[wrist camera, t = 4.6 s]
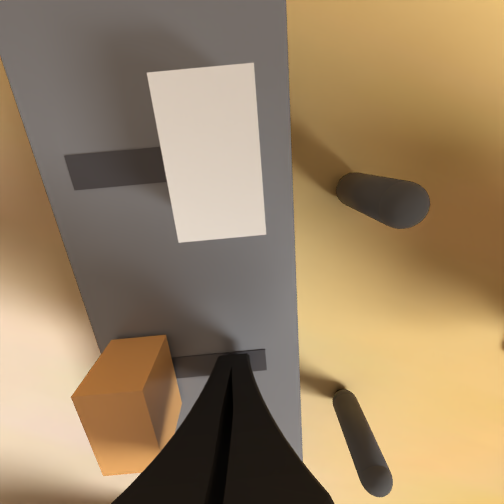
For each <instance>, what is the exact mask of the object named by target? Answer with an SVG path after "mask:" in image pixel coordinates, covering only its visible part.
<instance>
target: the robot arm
mask: <svg viewBox="0 0 504 504" xmlns="http://www.w3.org/2000/svg"><path fill="white" fill-rule="evenodd" d="M111 504H334V502H333V500H332V498H331V496H330V495H329V493H328V492H327V491H326V490H325V489H324V487H323V486H322V485H321V484H320V483H319V482H318V480H317V479H316V478H315V477H314V476H313V474H312V473H311V472H310V471H309V470H308V468H307V467H306V466H305V464H304V463H303V462H302V461H301V459H300V458H299V457H298V455H297V454H296V452H295V451H294V449H293V448H292V447H291V445H290V444H289V442H288V441H287V440H286V438H285V437H284V435H283V433H282V432H281V430H280V429H279V427H278V425H277V424H276V422H275V420H274V418H273V417H272V415H271V413H270V411H269V409H268V407H267V405H266V403H265V401H264V399H263V397H262V395H261V393H260V390H259V388H258V385H257V383H256V380H255V378H254V375H253V371H252V368H251V364H250V355H248V354H247V353H244V354H233V355H222V356H219V357H218V358H217V361H216V363H215V365H214V368H213V370H212V372H211V374H210V376H209V378H208V380H207V382H206V384H205V386H204V388H203V390H202V392H201V393H200V395H199V397H198V399H197V400H196V402H195V404H194V405H193V407H192V408H191V410H190V412H189V413H188V415H187V416H186V418H185V419H184V421H183V422H182V424H181V425H180V427H179V428H178V429H177V431H176V432H175V434H174V435H173V436H172V437H171V439H170V440H169V441H168V443H167V444H166V445H165V446H164V448H163V449H162V450H161V451H160V453H159V454H158V455H157V456H156V457H155V459H154V460H153V461H152V462H151V463H150V464H149V465H148V466H147V467H146V469H145V470H144V471H143V472H142V473H141V474H140V475H139V476H138V477H137V478H136V479H135V481H134V482H133V483H132V484H131V485H130V486H129V487H128V488H127V489H126V490H125V491H124V492H123V493H122V494H121V495H120V496H119V497H117V498H116V499H115V500H114V501H113V502H112V503H111Z"/></svg>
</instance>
